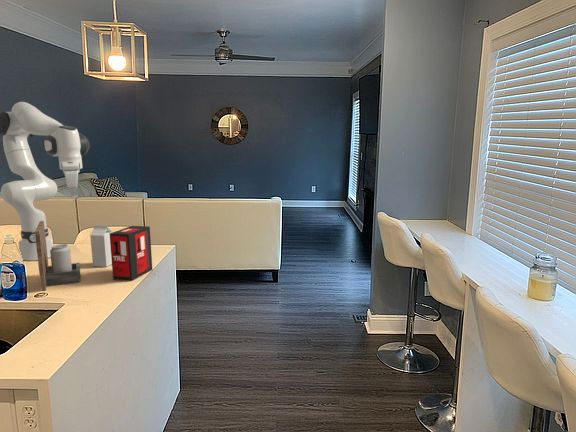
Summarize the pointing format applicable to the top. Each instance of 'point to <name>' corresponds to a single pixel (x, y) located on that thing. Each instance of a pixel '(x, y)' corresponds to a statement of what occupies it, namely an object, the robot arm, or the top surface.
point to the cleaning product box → (131, 252)
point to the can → (60, 258)
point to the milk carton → (101, 246)
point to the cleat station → (46, 271)
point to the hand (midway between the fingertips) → (73, 196)
